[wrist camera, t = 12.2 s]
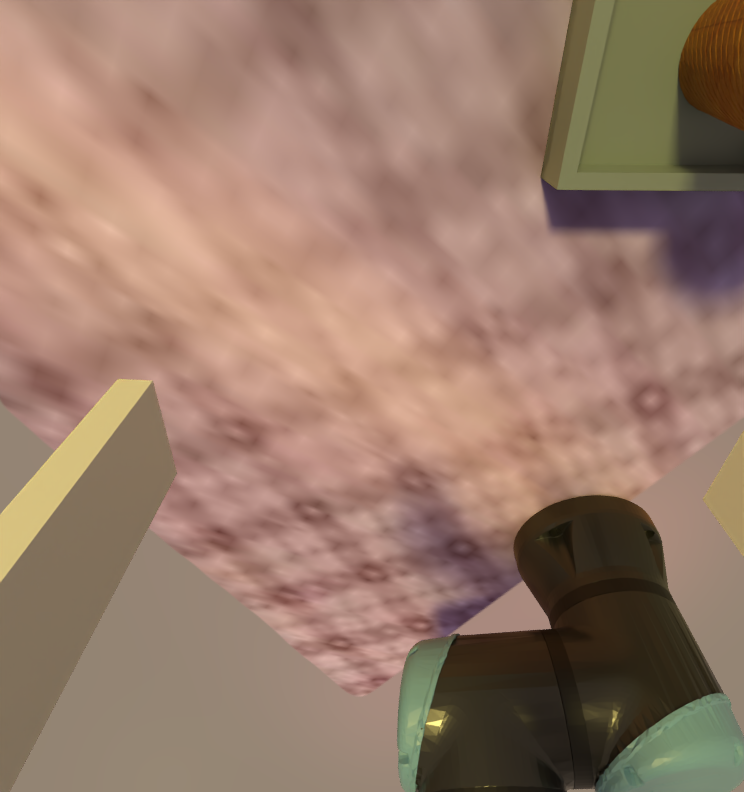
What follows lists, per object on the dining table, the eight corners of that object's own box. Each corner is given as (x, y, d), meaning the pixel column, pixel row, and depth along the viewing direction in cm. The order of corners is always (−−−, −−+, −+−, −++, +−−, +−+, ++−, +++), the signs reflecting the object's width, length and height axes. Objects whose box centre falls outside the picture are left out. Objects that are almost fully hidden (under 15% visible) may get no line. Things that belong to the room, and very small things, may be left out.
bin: (762, 178, 33) (803, 191, 30) (540, 177, 34) (556, 189, 30) (885, -112, 25) (959, -138, 22) (592, -110, 26) (622, -135, 22)
